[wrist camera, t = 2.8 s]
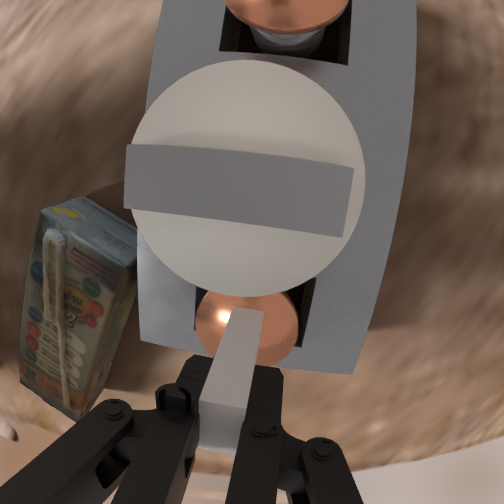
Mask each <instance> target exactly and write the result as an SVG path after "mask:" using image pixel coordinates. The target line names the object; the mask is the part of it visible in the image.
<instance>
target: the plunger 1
mask: <svg viewBox="0 0 504 504" xmlns="http://www.w3.org/2000/svg"><path fill="white" fill-rule="evenodd" d="M224 1H225V3H226V5H227V7H228V8H229V10H230V11H231V12H232V13H233V14H234V15H235V16H236V17H237V18H238V19H239V20H240V21H242V22H243V23H245V24H247V25H248V26H250V29H251V31H252V34H253V37H254V40H255V42H256V44H257V46H258V47H259V48H260V49H261V50H262V51H263V52H264V53H265V54H270V55H280V56H289V57H297V58H306V57H308V56H310V55H311V54H312V53H314V52H315V51H316V50H317V48H318V47H319V45H320V43H321V41H322V38H323V34H324V31H325V27H326V26H328V25H329V24H331V23H332V22H334V21H335V20H336V19H337V18H338V17H339V16H340V15H341V14H342V13H343V11H344V10H345V8H346V6H347V4H348V1H349V0H224Z"/></svg>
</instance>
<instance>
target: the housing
mask: <svg viewBox="0 0 504 504" xmlns="http://www.w3.org/2000/svg"><path fill="white" fill-rule="evenodd" d="M241 24H242V21H240V20H239V19H238V18H237V17H236V16H235V15H234V14H233V13H232V12H231V11H230V10H229V8H228V7H227V5H226V3H225V1H224V0H163V5H162V10H161V14H160V19H159V24H158V29H157V34H156V40H155V45H154V51H153V57H152V63H151V69H150V76H149V83H148V91H147V98H146V107H145V113H146V112H147V111H148V109H149V108H150V106H151V105H152V104H153V102H154V101H155V100H156V99H157V98H158V97H159V96H160V95H161V94H162V93H163V92H164V91H165V90H166V89H167V88H169V87H170V86H171V85H172V84H174V83H175V82H176V81H178V80H179V79H181V78H183V77H184V76H186V75H188V74H189V73H191V72H193V71H196V70H198V69H200V68H203V67H205V66H208V65H212V64H216V63H220V62H225V61H233V60H257V61H264V62H271V63H274V64H278V65H281V66H285V67H287V68H290V69H292V70H294V71H297V72H299V73H301V74H303V75H304V76H306V77H308V78H309V79H311V80H312V81H314V82H316V83H317V84H318V85H319V86H320V87H322V88H323V89H324V90H325V91H326V92H328V93H329V94H330V95H331V96H332V98H333V99H334V100H335V101H336V102H337V103H338V104H339V105H340V107H341V108H342V110H343V111H344V112H345V114H346V115H347V117H348V118H349V120H350V122H351V124H352V126H353V128H354V130H355V132H356V134H357V137H358V140H359V143H360V146H361V149H362V154H363V159H364V165H365V192H364V201H363V205H362V209H361V213H360V216H359V219H358V221H357V224H356V226H355V229H354V231H353V233H352V235H351V236H350V238H349V240H348V242H347V243H346V245H345V246H344V247H343V249H342V250H341V251H340V253H339V254H338V255H337V257H336V258H335V259H334V260H333V261H332V262H331V263H330V264H329V265H328V266H327V267H326V268H324V269H323V270H322V271H320V272H319V273H318V274H317V275H315V276H314V277H312V278H311V279H309V280H307V281H306V283H305V288H304V293H303V298H302V303H301V308H300V309H296V311H297V316H298V336H297V340H296V343H295V345H294V347H293V349H292V350H291V352H290V353H289V354H288V355H287V356H286V357H285V358H284V359H283V360H282V361H280V362H278V363H277V364H275V365H273V366H277V367H284V368H292V369H300V370H308V371H317V372H327V373H338V374H349V375H352V374H353V371H354V369H355V366H356V363H357V360H358V357H359V354H360V351H361V348H362V345H363V342H364V339H365V336H366V333H367V330H368V327H369V324H370V320H371V317H372V314H373V311H374V307H375V304H376V300H377V297H378V293H379V290H380V286H381V282H382V278H383V275H384V271H385V267H386V263H387V259H388V255H389V251H390V246H391V242H392V237H393V233H394V228H395V224H396V219H397V214H398V209H399V204H400V198H401V193H402V187H403V181H404V175H405V169H406V162H407V155H408V148H409V140H410V132H411V123H412V114H413V103H414V90H415V74H416V48H417V11H416V0H349V1H348V4H347V6H346V8H345V10H344V11H343V13H342V14H341V15H340V16H339V17H338V18H337V19H336V20H335V21H334V22H332V24H337V25H340V35H339V48H338V59H337V64H336V63H330V62H324V61H318V60H312V59H305V58H297V57H289V56H280V55H270V54H259V53H244V52H238V45H239V38H240V31H241ZM137 273H138V305H139V324H140V339H141V341H146V342H150V343H154V344H158V345H162V346H167V347H171V348H176V349H180V350H185V351H190V352H195V353H200V354H205V355H210V356H212V355H211V354H209V353H208V352H207V350H206V349H205V348H204V347H203V345H202V344H201V342H200V340H199V338H198V335H197V332H196V326H195V319H196V313H197V310H198V307H199V305H200V303H201V302H202V300H203V298H204V296H205V295H206V293H207V292H208V291H209V290H206V289H203V288H200V287H198V286H196V285H194V284H192V283H190V282H188V281H186V280H185V279H183V278H182V277H180V276H179V275H177V274H176V273H174V272H173V271H172V270H171V269H169V268H168V267H167V266H166V265H165V264H164V263H163V262H162V261H161V260H160V259H159V258H158V257H157V256H156V255H155V254H154V253H153V251H152V250H151V249H150V247H149V246H148V244H147V243H146V242H145V240H144V238H143V236H142V235H141V233H140V231H139V229H138V227H137Z"/></svg>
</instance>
